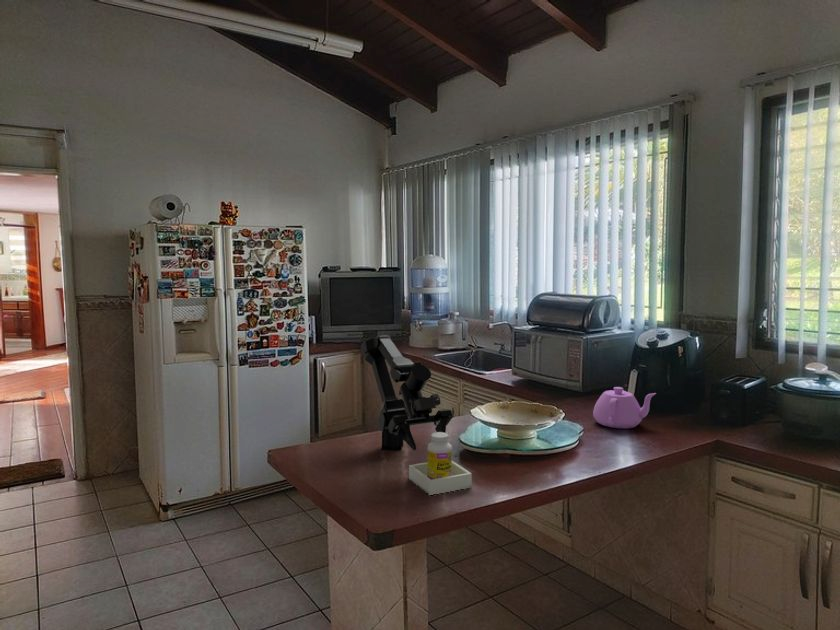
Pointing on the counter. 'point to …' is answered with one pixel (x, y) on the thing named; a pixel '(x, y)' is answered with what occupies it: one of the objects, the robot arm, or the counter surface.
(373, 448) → the counter surface
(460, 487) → the tote
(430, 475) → the supplement bottle
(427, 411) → the robot arm
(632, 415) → the teapot
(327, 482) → the counter surface
